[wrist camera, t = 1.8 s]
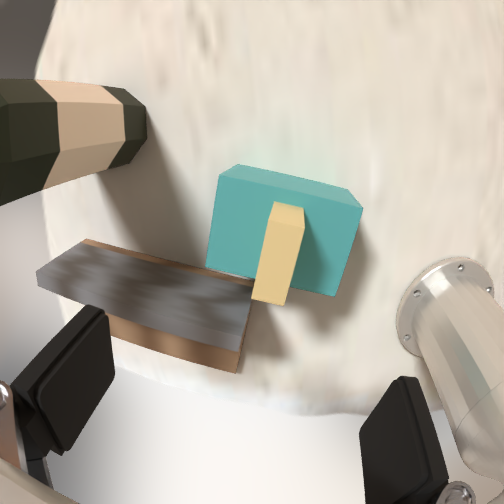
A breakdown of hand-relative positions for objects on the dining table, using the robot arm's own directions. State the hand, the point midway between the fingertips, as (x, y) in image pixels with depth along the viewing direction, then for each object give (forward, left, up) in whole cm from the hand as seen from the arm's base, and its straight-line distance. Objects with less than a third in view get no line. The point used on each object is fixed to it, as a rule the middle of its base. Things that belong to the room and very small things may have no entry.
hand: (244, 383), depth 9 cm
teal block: (0, 0, -21) cm, 21 cm away
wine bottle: (+19, 0, -21) cm, 28 cm away
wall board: (+7, +16, -21) cm, 27 cm away
